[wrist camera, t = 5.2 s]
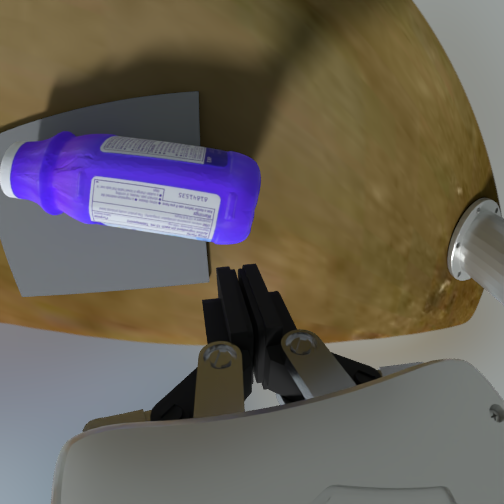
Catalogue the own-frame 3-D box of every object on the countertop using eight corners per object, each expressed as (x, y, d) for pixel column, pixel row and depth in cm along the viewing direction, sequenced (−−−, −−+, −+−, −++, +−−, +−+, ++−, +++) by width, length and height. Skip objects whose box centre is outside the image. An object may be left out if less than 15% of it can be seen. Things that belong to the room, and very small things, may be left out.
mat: (198, 91, 19) (198, 91, 18) (208, 278, 26) (209, 282, 26) (-16, 140, 15) (-20, 141, 15) (24, 293, 23) (22, 296, 22)
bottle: (234, 226, 23) (34, 198, 19) (250, 154, 21) (40, 130, 17) (250, 262, 16) (-17, 222, 12) (274, 160, 14) (-13, 131, 10)
